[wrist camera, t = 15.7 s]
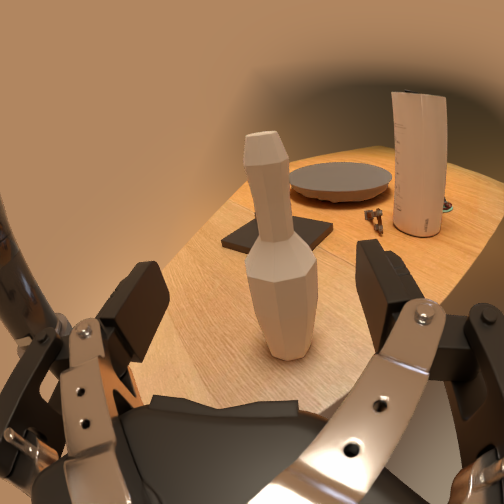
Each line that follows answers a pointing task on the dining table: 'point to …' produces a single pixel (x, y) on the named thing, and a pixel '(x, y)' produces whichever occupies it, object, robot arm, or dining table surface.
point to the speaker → (419, 162)
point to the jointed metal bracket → (370, 215)
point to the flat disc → (340, 181)
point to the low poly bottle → (278, 253)
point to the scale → (303, 227)
